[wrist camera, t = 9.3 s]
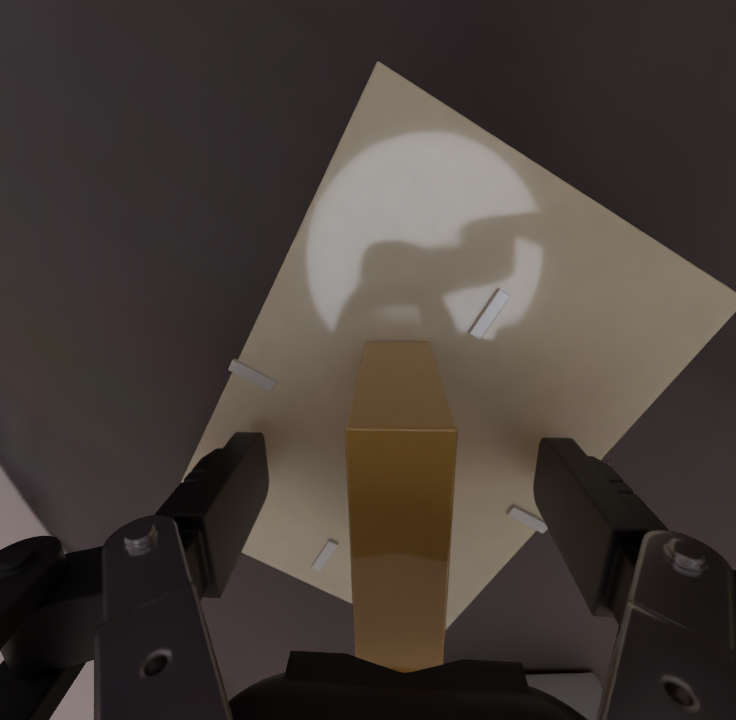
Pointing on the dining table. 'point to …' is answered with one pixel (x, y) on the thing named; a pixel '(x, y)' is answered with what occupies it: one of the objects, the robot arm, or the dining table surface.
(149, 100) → the dining table surface
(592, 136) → the dining table surface
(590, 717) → the small box
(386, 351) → the tan rectangular block
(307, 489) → the base
